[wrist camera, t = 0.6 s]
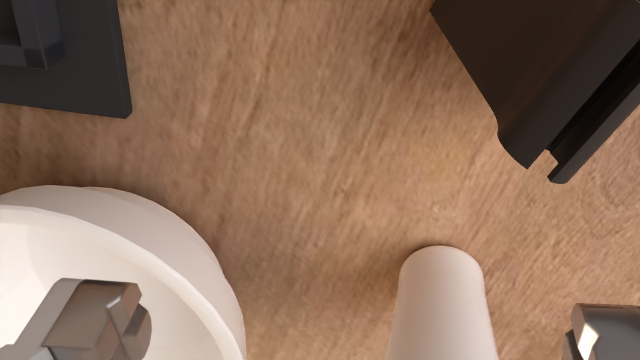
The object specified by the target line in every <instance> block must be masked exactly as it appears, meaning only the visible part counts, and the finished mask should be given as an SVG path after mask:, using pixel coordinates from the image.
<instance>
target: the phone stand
mask: <svg viewBox="0 0 640 360" xmlns="http://www.w3.org/2000/svg"><path fill="white" fill-rule="evenodd" d="M429 11H430V13H431V14H432V16H433V17H434V19H435V21H436V22H437V24H438V25H439V27H440V28H441V30H442V32H443V33H444V35H445V36H446V38H447V40H448V41H449V43H450V44H451V46H452V47H453V49H454V51H455V52H456V54H457V55H458V57H459V59H460V60H461V62H462V63H463V65H464V66H465V68H466V70H467V71H468V73H469V74H470V76H471V77H472V79H473V81H474V82H475V84H476V85H477V87H478V89H479V90H480V92H481V93H482V95H483V96H484V98H485V100H486V101H487V103H488V104H489V106H490V108H491V109H492V111H493V112H494V114H495V117H496V119H497V122H498V132H497V135H498V138H499V141H500V143H501V144H502V146H503V147H504V149H505V150H506V151H507V152H508V153H509V154H510V155H511V156H512V157H513V158H514V159H515V160H516V161H517V162H518V163H519V164H521V165H522V166H523V167H524V168H526V169H528V168H529V167H530V166H531V165H532V163H533V162H534V161H535V160H536V159H537V158H538V156H539V155H540V154H541V153H542V152H543V151H544V149H546V150H549V151H550V154H551V155H552V156H553V157H554V158H555V159H556V160H557V162H558V163H559V164H558V165H557V166H556V167H555V168H554V169H553V170H552V171H551V173H550V174H549V175H548V176H547V177H548V179H549V180H550V182H553V183H557V184H565V183H567V182H568V181H569V180H570V179H571V178H572V177H573V176H574V174H575V173H576V172H577V171H578V170H579V169H580V168H581V167H582V166H583V165H584V164H585V163H586V161H587V160H588V159H589V158H590V157H591V156H592V155H593V154H594V153H595V152H596V151H597V150H598V149H599V147H600V146H601V145H602V144H603V143H604V142H605V141H606V140H607V139H608V138H609V137H610V136H611V134H612V133H613V132H614V131H615V130H616V129H617V128H618V127H619V126H620V125H621V124H622V123H623V122H624V120H625V119H626V118H627V117H628V116H629V115H630V114H631V113H632V112H633V111H634V110H635V109H636V107H637V106H638V105H639V104H640V0H435V2H434V4H433V5H432V7H431V9H430V10H429Z"/></svg>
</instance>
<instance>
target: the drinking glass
mask: <svg viewBox="0 0 640 360" xmlns="http://www.w3.org/2000/svg"><path fill="white" fill-rule="evenodd" d="M384 360H499V357H498V352H497V348H496V343H495V338H494V334H493V329H492V324H491V319H490V315H489V310H488V305H487V300H486V295H485V285H484V277H483V273H482V270H481V268H480V266H479V264H478V263H477V262H476V260H475V259H474V258H473V257H472V256H470V255H469V254H468V253H466V252H464V251H462V250H460V249H458V248H455V247H451V246H444V245H436V246H429V247H425V248H422V249H420V250H418V251H416V252H414V253H413V254H411V255H410V256H409V257H408V258H407V259H406V260H405V262H404V263H403V265H402V267H401V270H400V274H399V282H398V292H397V297H396V303H395V307H394V312H393V317H392V322H391V327H390V332H389V336H388V341H387V346H386V351H385V355H384Z"/></svg>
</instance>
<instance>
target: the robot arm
mask: <svg viewBox="0 0 640 360" xmlns="http://www.w3.org/2000/svg"><path fill="white" fill-rule="evenodd" d="M141 297H142V293H141V291H140V289H139V287H138V284H137V283H131V282H118V281H105V280H92V279H75V278H61V279H59V280H58V281H56V282H55V283H54V284H53V286H52V287H51V289H50V290H49V292H48V293H47V295H46V296H45V298H44V299H43V301H42V302H41V304H40V305H39V307H38V308H37V310H36V311H35V313H34V314H33V316H32V317H31V319H30V320H29V322H28V323H27V325H26V326H25V328H24V329H23V331H22V332H21V334H20V335H19V337H18V338H17V340H16V341H15V343H14V344H6V345H4V346H3V347H1V348H0V360H142V359H143V358H144V357H145V355H146V352H147V350H148V347H149V345H150V339H151V333H152V323H151V317H150V314H149V312H148V310H147V309H146V308H144V307H143V306H142V305H141V304H139V301H140V299H141ZM570 319H571V323H572V327H573V329H571V330H570V331H569V332H567V333H566V334H565V338H564V342H563V346H562V360H640V306H635V305H611V304H584V303H576V304H575V306H574V307H573V309H572V312H571V316H570Z"/></svg>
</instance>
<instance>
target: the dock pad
mask: <svg viewBox="0 0 640 360" xmlns="http://www.w3.org/2000/svg"><path fill="white" fill-rule="evenodd" d="M0 103H7V104H14V105H22V106H30V107H38V108H45V109H53V110H61V111H69V112H77V113H84V114H92V115H100V116H108V117H115V118H123V119H126V118H127V117H128V116H129V115H130V114H131V113H132V104H131V97H130V90H129V83H128V76H127V69H126V62H125V55H124V48H123V41H122V34H121V27H120V20H119V13H118V7H117V0H0Z"/></svg>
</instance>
